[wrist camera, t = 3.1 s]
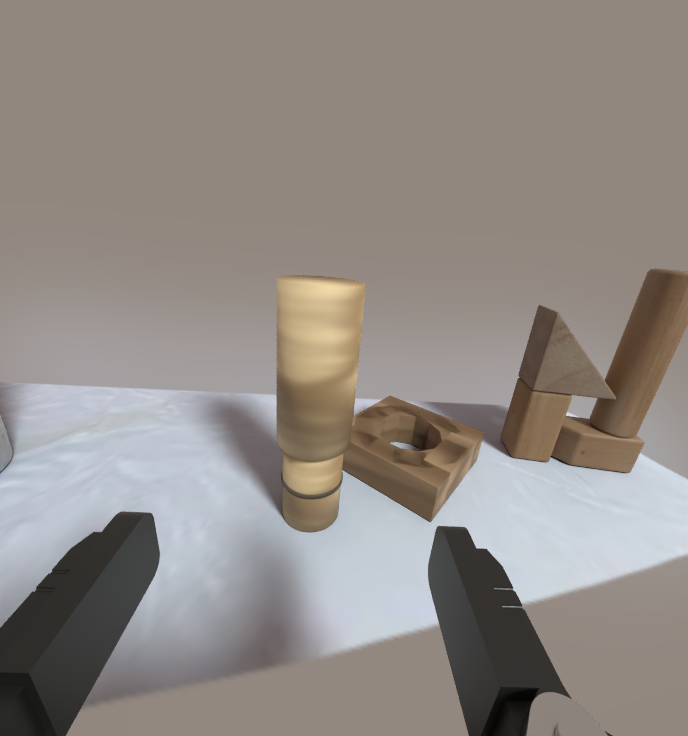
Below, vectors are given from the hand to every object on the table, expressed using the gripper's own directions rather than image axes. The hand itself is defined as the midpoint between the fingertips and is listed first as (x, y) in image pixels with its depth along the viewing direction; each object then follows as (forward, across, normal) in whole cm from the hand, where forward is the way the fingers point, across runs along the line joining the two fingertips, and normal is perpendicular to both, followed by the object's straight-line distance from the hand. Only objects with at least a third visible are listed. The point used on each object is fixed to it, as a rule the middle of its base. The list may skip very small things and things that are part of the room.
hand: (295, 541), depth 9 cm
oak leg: (+11, 0, +10) cm, 15 cm away
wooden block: (+20, -24, +10) cm, 33 cm away
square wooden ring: (+18, -8, +10) cm, 22 cm away
